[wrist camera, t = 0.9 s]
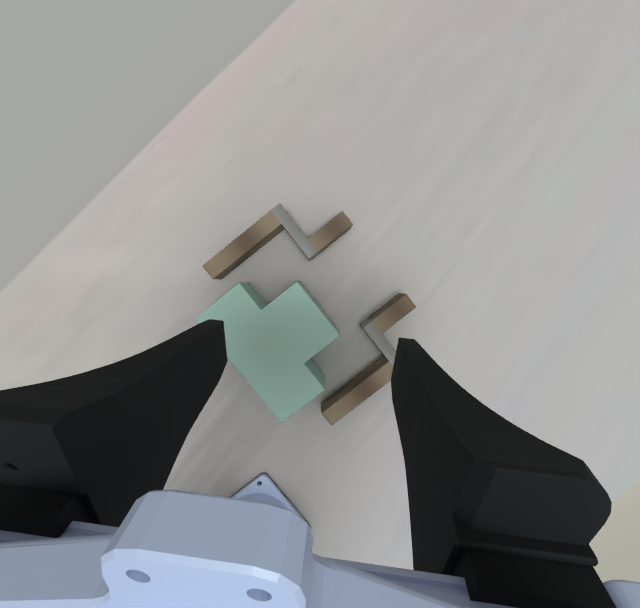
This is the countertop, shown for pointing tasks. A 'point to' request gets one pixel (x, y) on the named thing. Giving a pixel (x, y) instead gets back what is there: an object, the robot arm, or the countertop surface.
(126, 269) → the countertop surface
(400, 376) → the robot arm
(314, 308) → the t slider
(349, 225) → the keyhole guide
